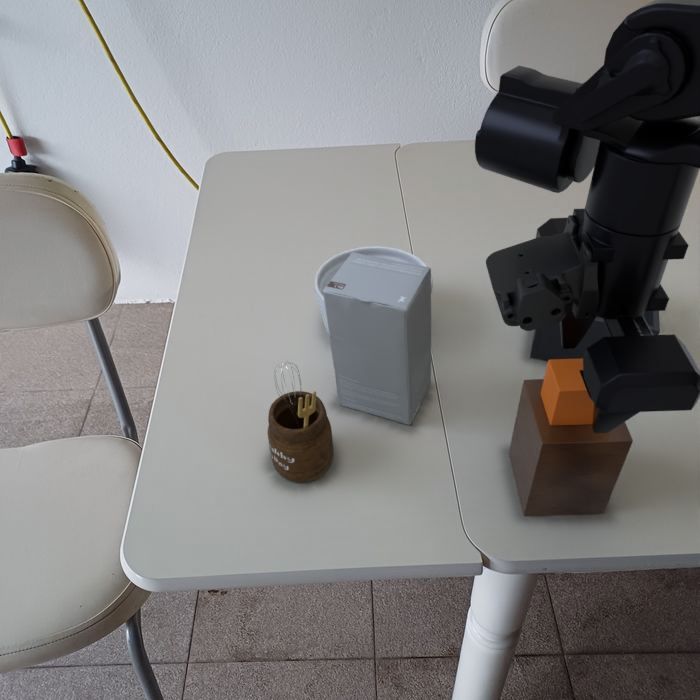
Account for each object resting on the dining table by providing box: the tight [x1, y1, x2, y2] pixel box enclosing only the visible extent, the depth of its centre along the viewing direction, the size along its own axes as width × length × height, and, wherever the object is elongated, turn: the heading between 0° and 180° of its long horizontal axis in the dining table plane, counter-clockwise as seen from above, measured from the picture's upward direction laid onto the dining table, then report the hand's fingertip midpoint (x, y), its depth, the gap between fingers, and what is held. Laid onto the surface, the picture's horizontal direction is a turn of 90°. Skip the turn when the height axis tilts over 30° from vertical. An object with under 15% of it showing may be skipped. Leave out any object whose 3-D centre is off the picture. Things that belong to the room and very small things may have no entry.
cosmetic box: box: [323, 252, 432, 425], centre depth 62 cm, size 8×7×16 cm
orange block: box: [541, 358, 594, 426], centre depth 51 cm, size 5×4×4 cm
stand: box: [508, 378, 634, 517], centre depth 56 cm, size 7×7×10 cm
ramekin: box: [313, 245, 433, 334], centre depth 74 cm, size 13×13×7 cm
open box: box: [529, 311, 661, 362], centre depth 72 cm, size 12×12×7 cm
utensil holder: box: [267, 361, 334, 483], centre depth 58 cm, size 6×6×12 cm
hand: (583, 386), depth 51 cm, fingers open, 9 cm apart
